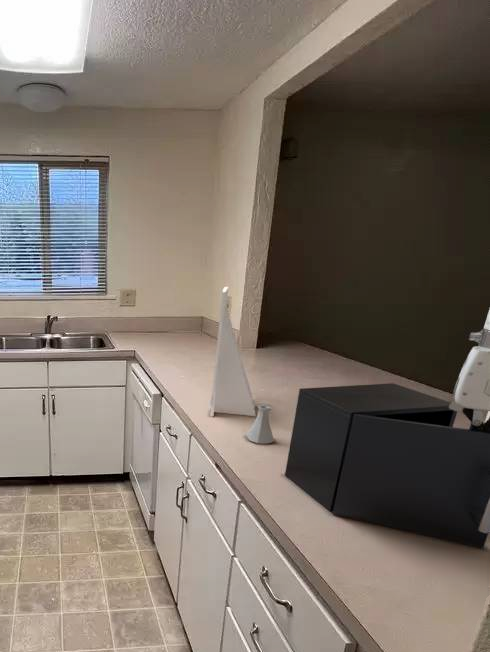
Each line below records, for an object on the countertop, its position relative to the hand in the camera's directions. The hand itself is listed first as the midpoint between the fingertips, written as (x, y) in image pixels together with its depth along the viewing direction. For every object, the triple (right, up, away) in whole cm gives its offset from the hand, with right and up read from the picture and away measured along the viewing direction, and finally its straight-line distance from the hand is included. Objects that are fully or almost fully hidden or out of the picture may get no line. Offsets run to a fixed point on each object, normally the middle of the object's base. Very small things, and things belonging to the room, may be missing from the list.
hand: (476, 445), depth 76 cm
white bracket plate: (-18, +7, +74) cm, 76 cm away
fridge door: (-9, -18, +6) cm, 20 cm away
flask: (-18, -2, +49) cm, 52 cm away
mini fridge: (-8, -11, +23) cm, 27 cm away
